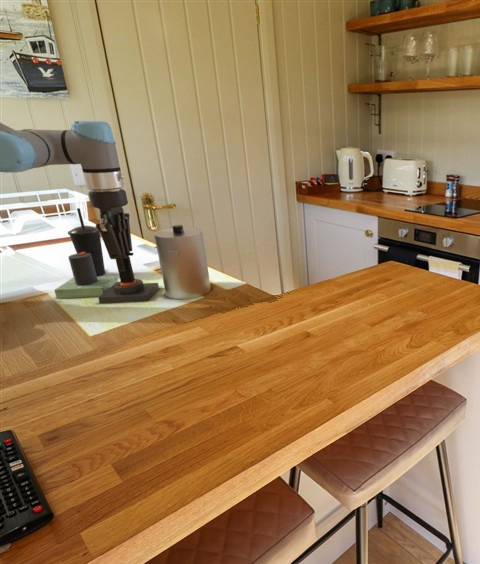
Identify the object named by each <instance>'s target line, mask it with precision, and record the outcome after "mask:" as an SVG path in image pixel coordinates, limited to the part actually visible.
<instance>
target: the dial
mask: <svg viewBox="0 0 480 564" xmlns="http://www.w3.org/2000/svg"><path fill="white" fill-rule="evenodd" d="M68 261H69V265H70V268H71V271H72V275H73V278H74V279H75V283H76V285H90V284H93V283H96V282H97V281H98V280H97V276H96V272H95V268H94V264H93V260H92V256H91V254H90V253H85V252H82V253H78V254H77V253H73V254H71V255H68Z"/></svg>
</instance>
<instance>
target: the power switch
mask: <svg viewBox="0 0 480 564" xmlns="http://www.w3.org/2000/svg"><path fill="white" fill-rule="evenodd" d="M134 284H136V281H134V282H128V283H120V286H131V285H134Z"/></svg>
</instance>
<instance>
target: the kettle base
mask: <svg viewBox="0 0 480 564" xmlns="http://www.w3.org/2000/svg"><path fill="white" fill-rule="evenodd" d="M134 279H135V281H136V284H134V285H131V286H120V283H121V280H119V281H118V282H117V283H115V284H114V285H113V286H112V287H111V288H109V289H108V290H107V291H106V292H105V293H103V294H102V295H101V296H98V298H97V299H98V303H99V304H116V303H117V304H119V303H135V302H148V301H149V300H150V299H151V298H152V297H153V295H155V293H156V292H157V291H158V290H159V289H160V286H159V282H144V281H143V280H142V279H138V278H134Z"/></svg>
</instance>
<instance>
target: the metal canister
mask: <svg viewBox="0 0 480 564" xmlns="http://www.w3.org/2000/svg"><path fill="white" fill-rule="evenodd" d="M153 235H154V241H155V246H156V252H157V257H158V262H159V266H160V270H161V276H162V282H163V288H164V291H165V296H166V297H167V298H169V299H172V300H173V299H174V300H187V299H195V298H198V297H202V296H204V295H206V294H208V293H209V292H210V291H211V290H212V285H211V280H210V274H209V273H210V272H209V267H208V260H207V253H206V248H205V242H204V235H203V229H201V228H199V227H194V226H183V225H182V224H175V225H174V224H173V225H172V226H171V227H169V228H164V229H161V230H158V231H156V232H154V234H153Z"/></svg>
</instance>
